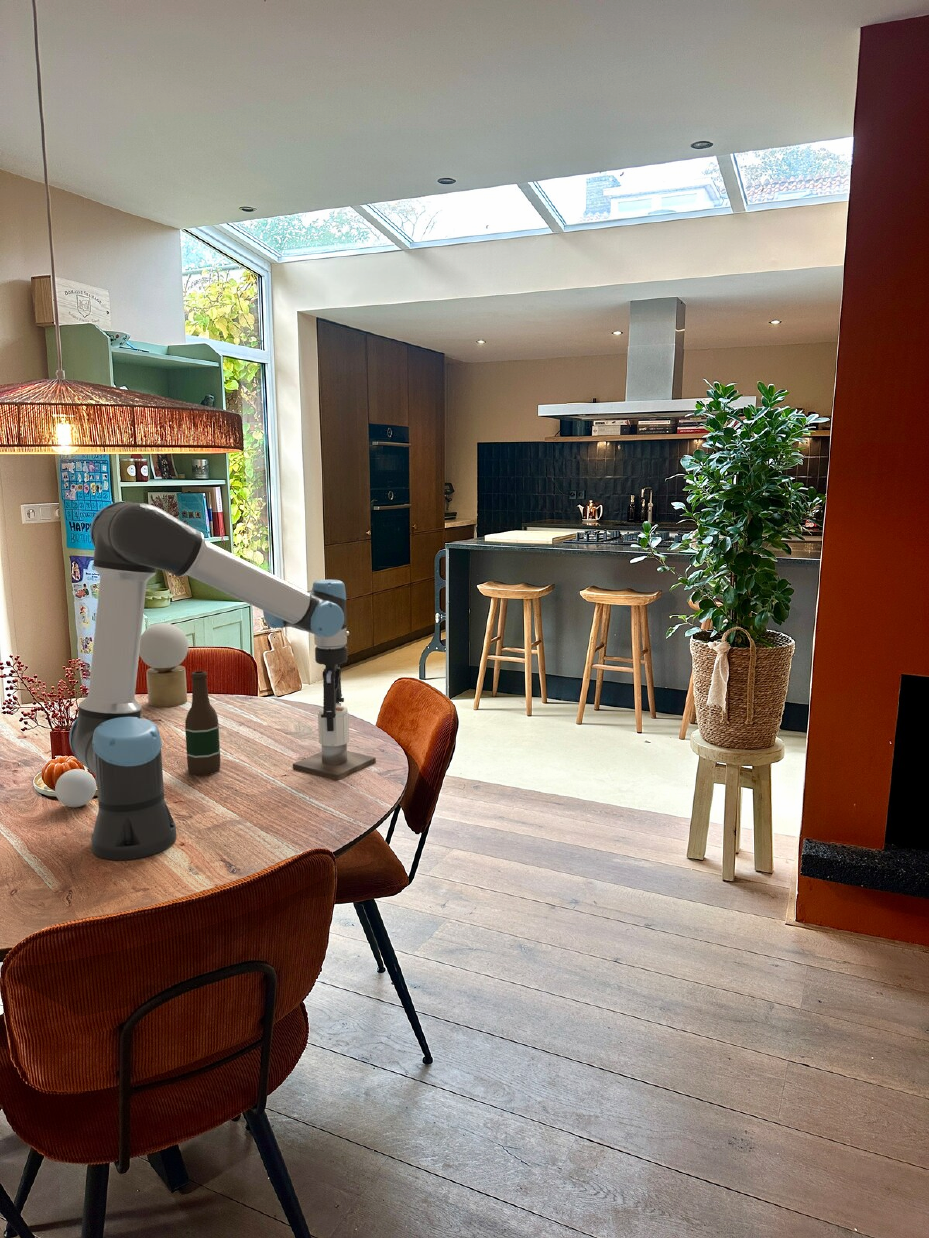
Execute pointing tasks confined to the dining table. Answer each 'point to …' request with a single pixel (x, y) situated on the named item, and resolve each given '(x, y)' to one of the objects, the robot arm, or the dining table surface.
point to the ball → (75, 788)
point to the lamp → (165, 664)
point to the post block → (334, 762)
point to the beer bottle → (202, 730)
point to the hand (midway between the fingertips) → (333, 736)
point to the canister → (341, 726)
